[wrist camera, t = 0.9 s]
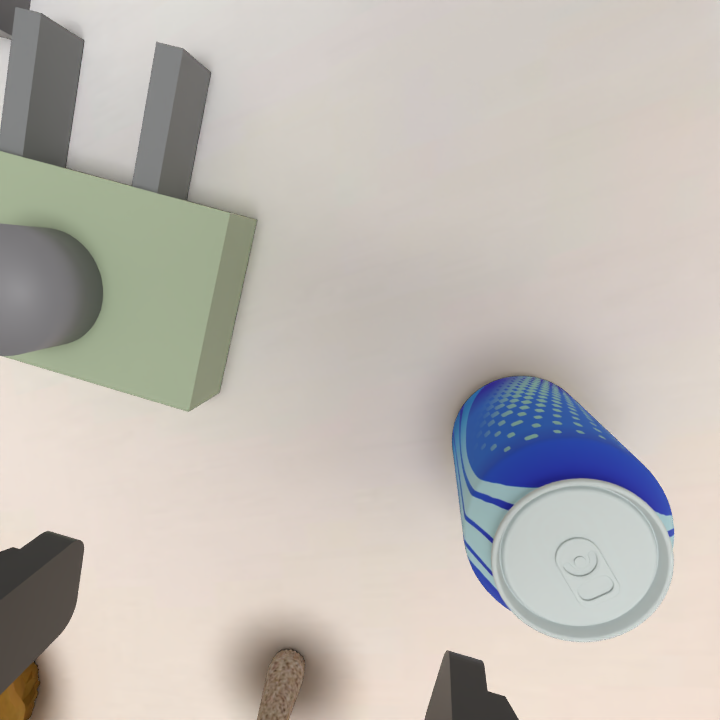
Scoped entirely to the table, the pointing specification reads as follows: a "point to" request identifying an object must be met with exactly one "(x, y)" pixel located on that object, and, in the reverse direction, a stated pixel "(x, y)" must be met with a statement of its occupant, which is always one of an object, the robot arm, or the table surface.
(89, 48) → the table surface
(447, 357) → the table surface
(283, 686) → the mushroom
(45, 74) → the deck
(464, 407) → the beer can
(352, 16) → the table surface
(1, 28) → the grey rectangular box
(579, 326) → the table surface
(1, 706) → the pitcher
